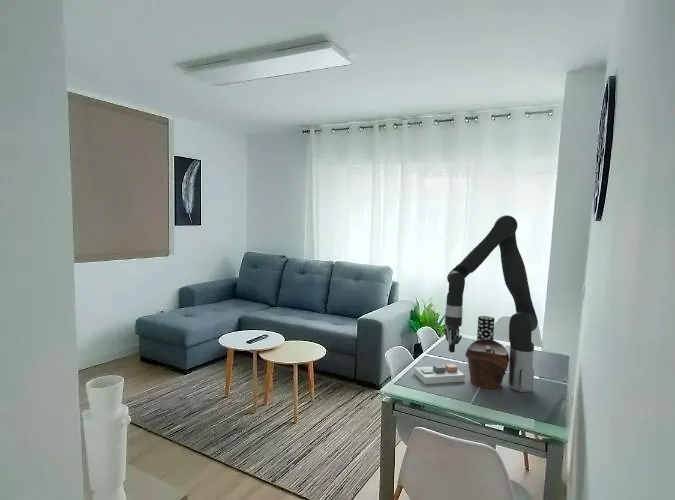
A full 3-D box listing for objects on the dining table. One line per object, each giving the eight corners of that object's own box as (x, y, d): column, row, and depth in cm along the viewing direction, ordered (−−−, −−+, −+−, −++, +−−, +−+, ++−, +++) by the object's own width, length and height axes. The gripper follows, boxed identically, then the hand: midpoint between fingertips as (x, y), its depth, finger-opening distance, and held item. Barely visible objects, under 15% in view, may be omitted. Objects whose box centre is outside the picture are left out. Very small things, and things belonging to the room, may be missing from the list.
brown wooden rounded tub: (482, 394, 161) (485, 351, 160) (455, 376, 181) (457, 338, 180) (518, 391, 166) (521, 350, 165) (488, 374, 185) (491, 336, 184)
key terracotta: (457, 371, 178) (457, 367, 178) (449, 371, 177) (449, 367, 177) (452, 368, 182) (452, 363, 182) (444, 368, 181) (445, 364, 181)
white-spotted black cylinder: (476, 355, 211) (478, 318, 210) (475, 350, 219) (477, 315, 218) (493, 357, 209) (495, 320, 207) (491, 352, 217) (493, 316, 215)
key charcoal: (445, 372, 177) (445, 367, 177) (436, 372, 176) (437, 368, 176) (440, 368, 181) (441, 364, 181) (432, 369, 180) (433, 365, 180)
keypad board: (464, 381, 175) (464, 374, 175) (425, 384, 171) (425, 377, 171) (451, 371, 187) (451, 365, 186) (413, 373, 182) (414, 367, 182)
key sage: (432, 376, 176) (432, 371, 176) (424, 376, 175) (424, 372, 175) (428, 372, 180) (428, 368, 180) (420, 373, 179) (420, 369, 179)
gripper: (468, 318, 173) (466, 356, 174) (454, 311, 186) (451, 346, 187) (453, 318, 171) (451, 357, 172) (439, 311, 184) (437, 347, 185)
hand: (451, 351), depth 180 cm, fingers closed
